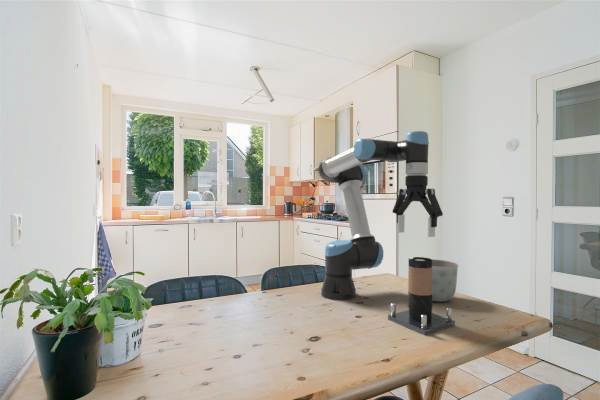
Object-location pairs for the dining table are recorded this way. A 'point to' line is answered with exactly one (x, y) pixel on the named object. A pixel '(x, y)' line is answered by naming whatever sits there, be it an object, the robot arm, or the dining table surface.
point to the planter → (443, 280)
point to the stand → (422, 321)
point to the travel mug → (420, 288)
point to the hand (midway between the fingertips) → (415, 234)
